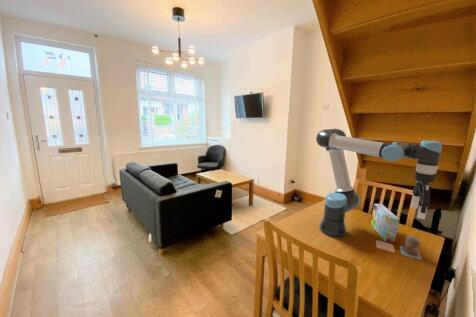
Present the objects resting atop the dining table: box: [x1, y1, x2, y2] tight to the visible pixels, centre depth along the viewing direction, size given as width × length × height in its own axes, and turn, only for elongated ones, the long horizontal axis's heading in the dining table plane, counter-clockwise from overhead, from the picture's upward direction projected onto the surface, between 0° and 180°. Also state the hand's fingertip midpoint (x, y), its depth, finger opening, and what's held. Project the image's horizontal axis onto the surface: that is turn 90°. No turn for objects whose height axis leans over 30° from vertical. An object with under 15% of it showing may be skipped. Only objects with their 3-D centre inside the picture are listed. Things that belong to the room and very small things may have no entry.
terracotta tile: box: [375, 239, 396, 253], centre depth 114 cm, size 8×8×1 cm
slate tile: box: [399, 245, 423, 261], centre depth 109 cm, size 8×8×1 cm
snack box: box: [370, 203, 400, 244], centre depth 127 cm, size 21×6×15 cm, turn 168°
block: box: [403, 234, 421, 257], centre depth 108 cm, size 5×5×8 cm
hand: (417, 212), depth 105 cm, fingers open, 13 cm apart
